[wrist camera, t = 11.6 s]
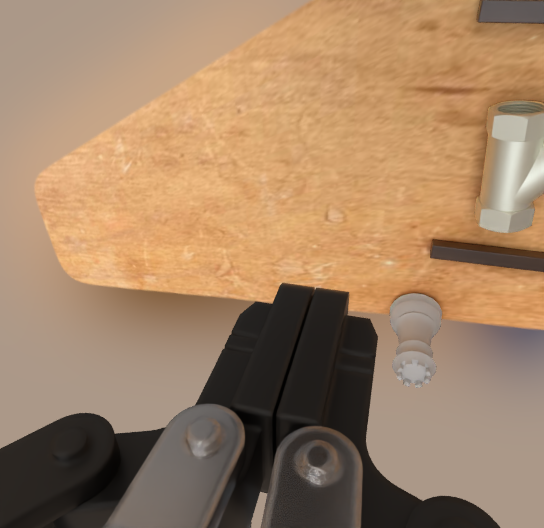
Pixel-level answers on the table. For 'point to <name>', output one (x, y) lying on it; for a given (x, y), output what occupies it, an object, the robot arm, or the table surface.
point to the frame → (493, 9)
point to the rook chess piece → (415, 337)
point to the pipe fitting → (512, 166)
